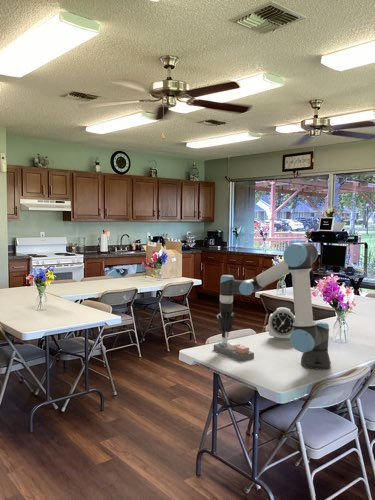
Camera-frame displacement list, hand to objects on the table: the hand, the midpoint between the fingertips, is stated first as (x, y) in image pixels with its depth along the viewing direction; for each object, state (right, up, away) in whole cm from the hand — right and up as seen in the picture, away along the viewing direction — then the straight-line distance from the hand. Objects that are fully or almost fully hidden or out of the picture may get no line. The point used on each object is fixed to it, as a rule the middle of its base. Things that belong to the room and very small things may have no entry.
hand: (224, 342), depth 248 cm
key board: (+4, -5, -6) cm, 9 cm away
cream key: (+4, -2, -6) cm, 8 cm away
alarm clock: (+39, -4, +28) cm, 48 cm away
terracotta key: (+9, -3, -12) cm, 15 cm away
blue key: (0, -3, 0) cm, 3 cm away
